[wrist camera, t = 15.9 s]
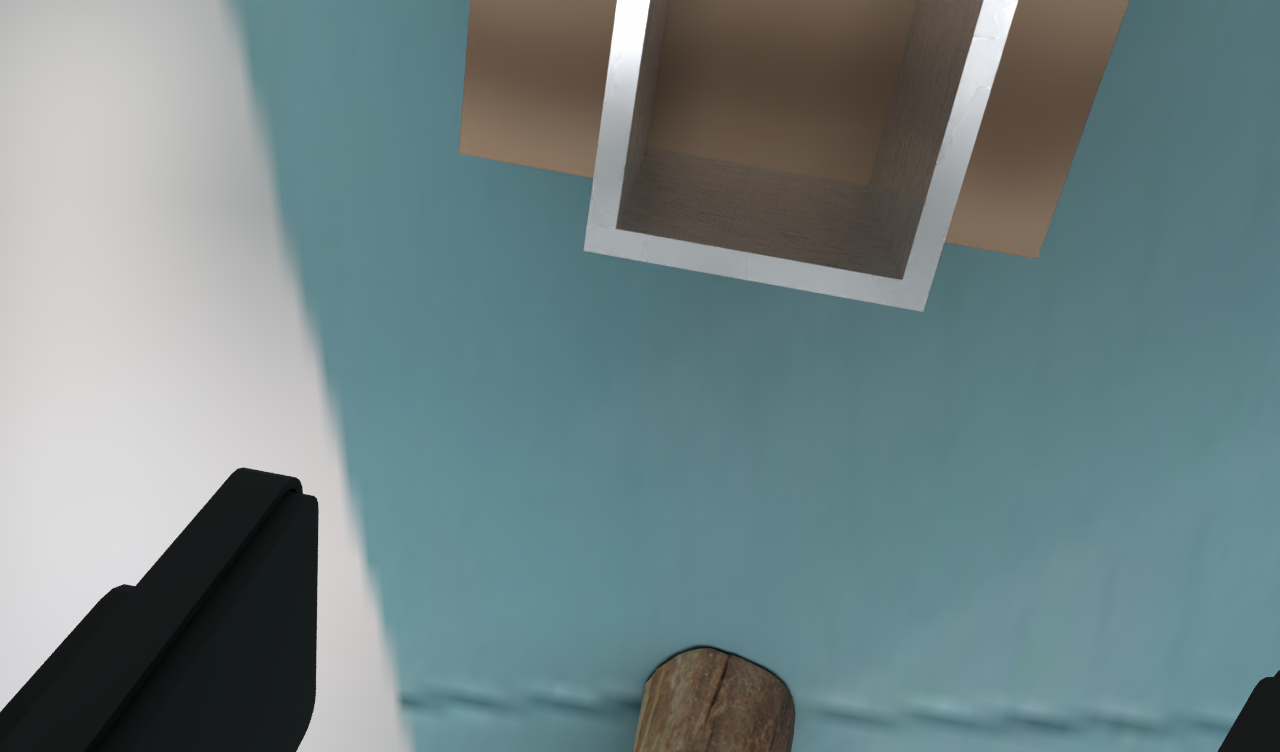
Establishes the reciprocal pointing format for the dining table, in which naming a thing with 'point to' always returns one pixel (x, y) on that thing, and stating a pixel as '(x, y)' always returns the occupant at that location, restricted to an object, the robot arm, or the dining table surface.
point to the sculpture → (714, 707)
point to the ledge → (790, 94)
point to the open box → (797, 203)
